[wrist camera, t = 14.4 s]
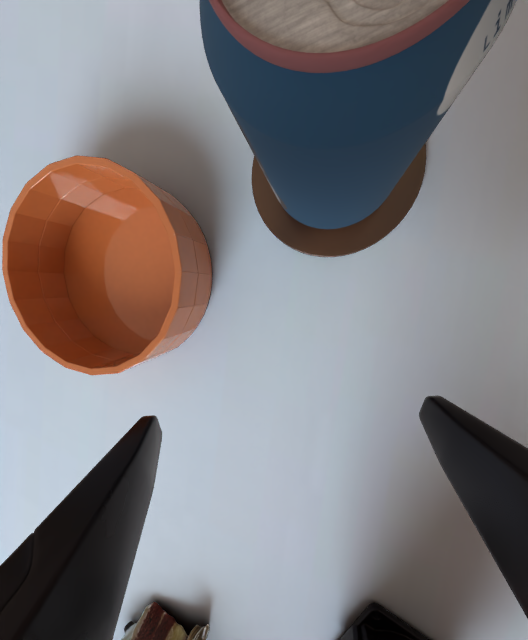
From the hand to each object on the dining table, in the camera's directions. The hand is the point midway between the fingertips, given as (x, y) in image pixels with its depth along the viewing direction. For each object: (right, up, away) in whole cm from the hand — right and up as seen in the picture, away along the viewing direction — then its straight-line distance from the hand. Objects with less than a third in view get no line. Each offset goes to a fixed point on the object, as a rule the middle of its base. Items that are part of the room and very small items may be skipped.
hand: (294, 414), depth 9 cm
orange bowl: (-11, +7, +11) cm, 17 cm away
